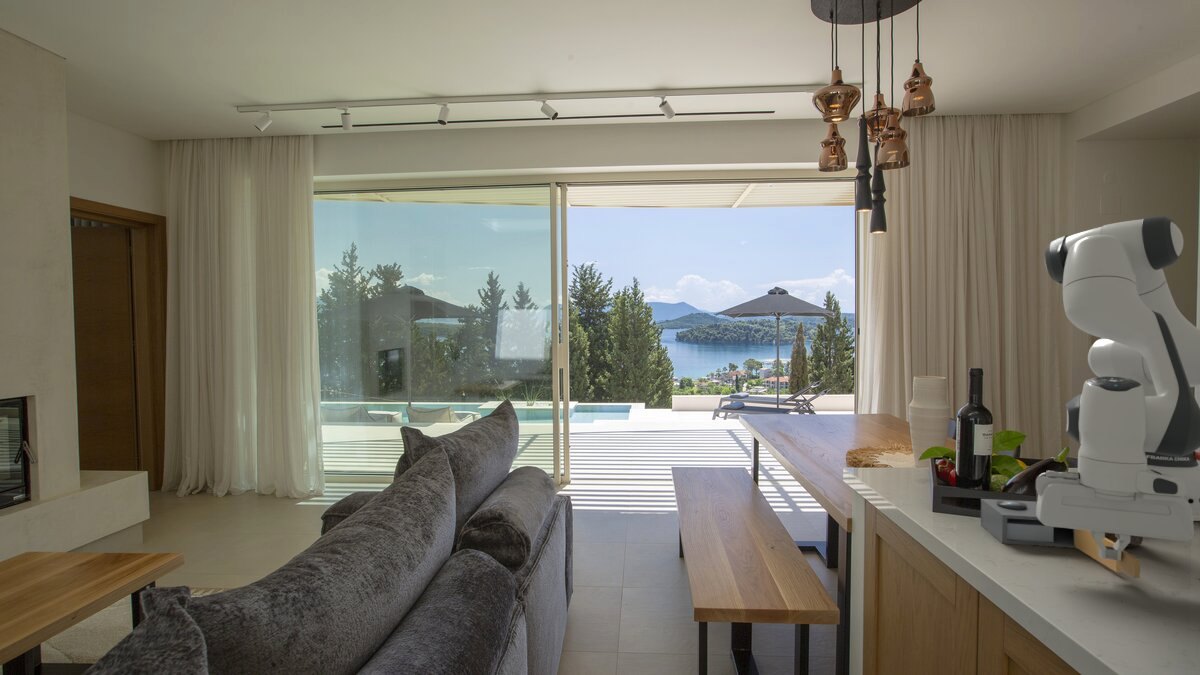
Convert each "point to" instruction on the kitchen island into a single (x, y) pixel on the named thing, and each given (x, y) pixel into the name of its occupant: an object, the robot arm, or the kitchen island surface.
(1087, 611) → the kitchen island surface
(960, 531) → the kitchen island surface
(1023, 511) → the grey box
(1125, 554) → the side door
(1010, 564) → the kitchen island surface
